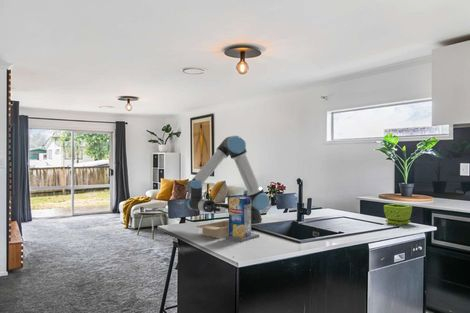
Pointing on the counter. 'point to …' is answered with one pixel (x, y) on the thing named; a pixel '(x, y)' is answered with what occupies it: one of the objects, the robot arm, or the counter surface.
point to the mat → (242, 238)
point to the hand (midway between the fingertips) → (232, 208)
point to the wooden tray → (216, 229)
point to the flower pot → (398, 214)
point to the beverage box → (240, 216)
